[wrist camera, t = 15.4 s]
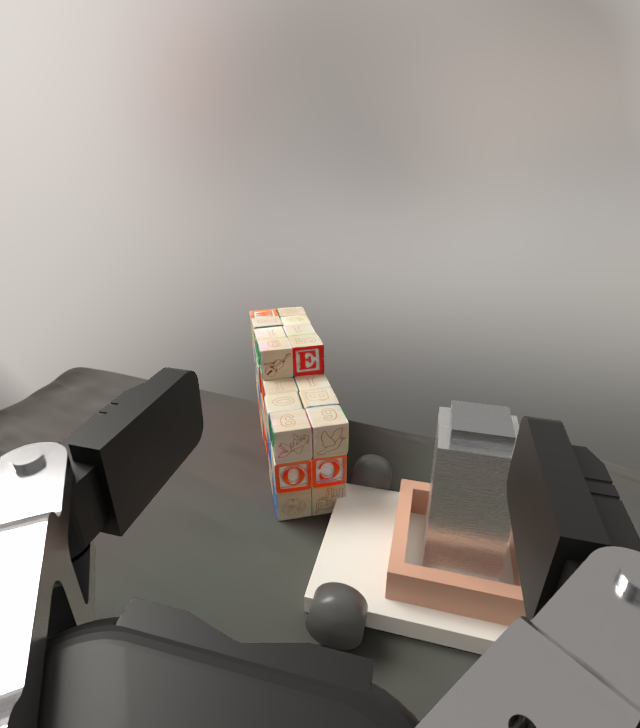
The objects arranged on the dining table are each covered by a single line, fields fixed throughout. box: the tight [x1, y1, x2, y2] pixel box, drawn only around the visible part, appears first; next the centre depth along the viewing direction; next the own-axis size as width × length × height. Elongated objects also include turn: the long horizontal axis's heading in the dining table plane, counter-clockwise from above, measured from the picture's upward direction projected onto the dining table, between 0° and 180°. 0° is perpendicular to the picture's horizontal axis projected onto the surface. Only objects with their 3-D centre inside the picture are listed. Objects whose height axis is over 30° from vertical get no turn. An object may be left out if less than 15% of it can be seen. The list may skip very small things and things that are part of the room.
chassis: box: [304, 454, 526, 655], centre depth 33 cm, size 20×16×4 cm
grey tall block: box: [422, 400, 519, 582], centre depth 31 cm, size 5×5×12 cm
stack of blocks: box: [250, 307, 349, 521], centre depth 46 cm, size 21×6×12 cm, turn 12°
